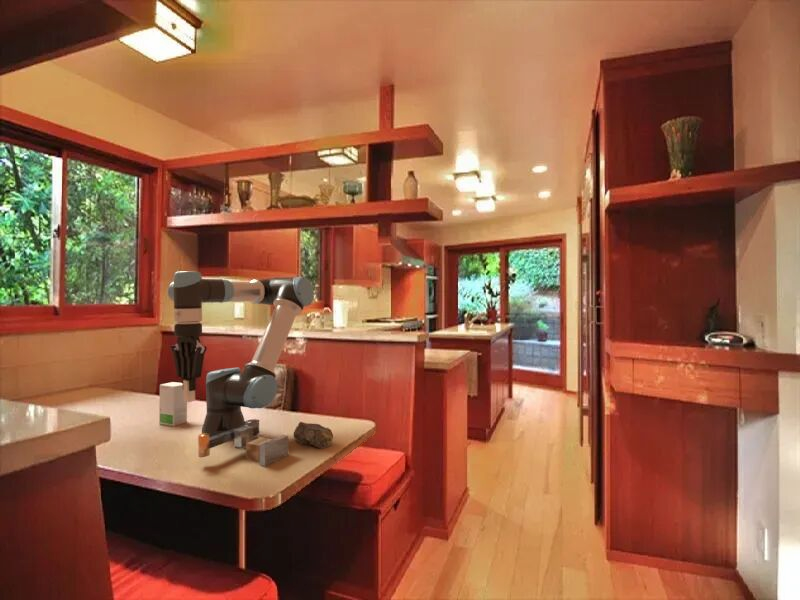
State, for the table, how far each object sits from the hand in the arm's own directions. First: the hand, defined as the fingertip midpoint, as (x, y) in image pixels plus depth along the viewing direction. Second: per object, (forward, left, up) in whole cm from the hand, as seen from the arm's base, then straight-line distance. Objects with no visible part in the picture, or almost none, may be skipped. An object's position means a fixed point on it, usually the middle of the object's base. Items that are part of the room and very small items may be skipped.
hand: (189, 401), depth 130 cm
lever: (+7, +10, -15) cm, 20 cm away
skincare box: (-42, +25, -19) cm, 52 cm away
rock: (+23, +29, -19) cm, 42 cm away
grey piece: (+13, +15, -18) cm, 27 cm away
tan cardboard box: (+16, +12, -19) cm, 27 cm away
